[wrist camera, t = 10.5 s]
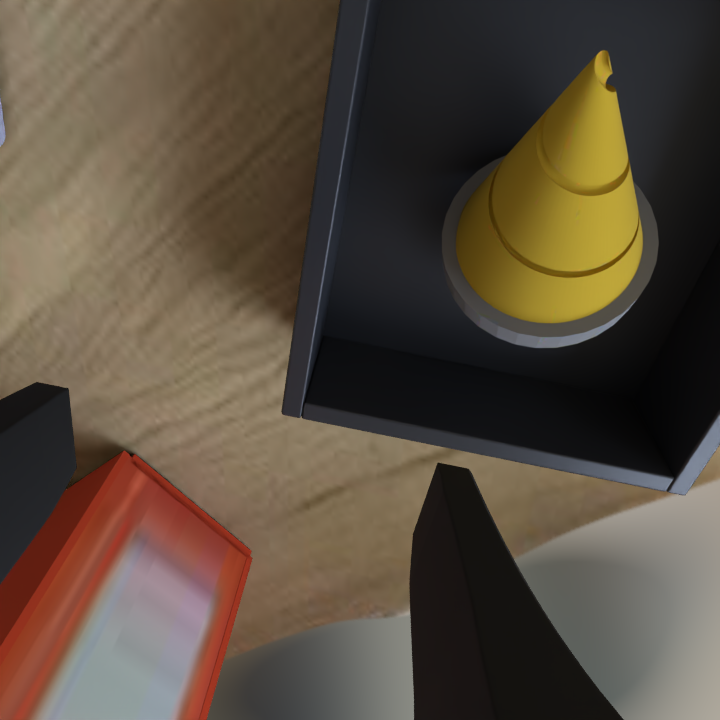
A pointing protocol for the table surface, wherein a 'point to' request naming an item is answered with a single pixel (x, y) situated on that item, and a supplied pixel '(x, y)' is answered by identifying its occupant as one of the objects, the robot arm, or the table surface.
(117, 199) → the table surface
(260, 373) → the table surface
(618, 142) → the yellow traffic cone
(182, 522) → the file binder
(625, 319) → the bin
